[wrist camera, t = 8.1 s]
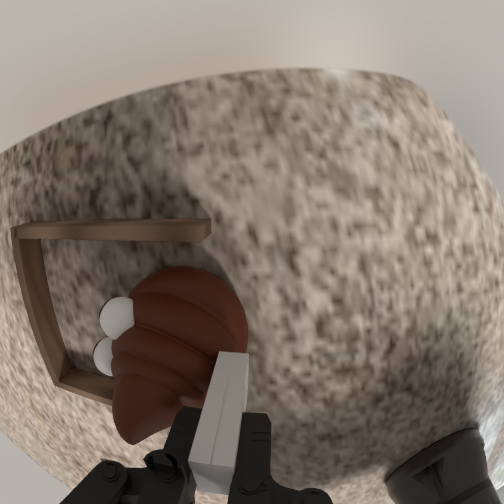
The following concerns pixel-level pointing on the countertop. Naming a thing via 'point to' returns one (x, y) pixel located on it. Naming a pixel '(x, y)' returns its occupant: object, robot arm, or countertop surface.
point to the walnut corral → (38, 291)
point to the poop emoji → (166, 346)
